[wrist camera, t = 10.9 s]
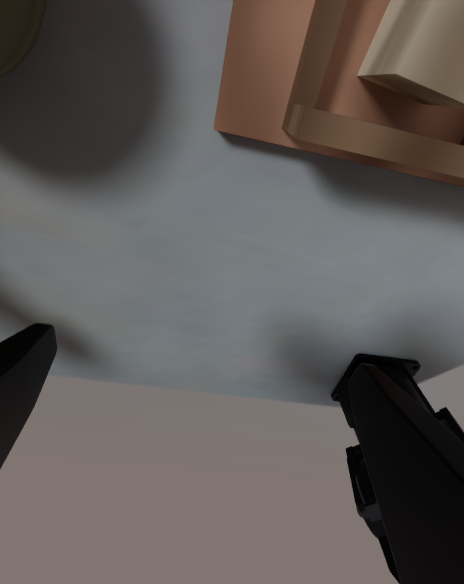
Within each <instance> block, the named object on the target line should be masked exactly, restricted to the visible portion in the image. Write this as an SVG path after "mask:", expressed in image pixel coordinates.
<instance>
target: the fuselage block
mask: <svg viewBox="0 0 464 584" xmlns="http://www.w3.org/2000/svg"><path fill="white" fill-rule="evenodd" d="M357 76H359V77H361V78H363V79H366V80H368V81H370V82H373V83H375V84H378V85H380V86H382V87H385V88H387V89H389V90H392V91H394V92H396V93H399V94H401V95H403V96H406V97H408V98H411V99H413V100H415V101H418V102H420V103H422V104H426V105H436V106H445V107H455V108H464V0H390V2H389V4H388V7H387V9H386V11H385V13H384V16H383V18H382V20H381V22H380V25H379V27H378V29H377V32H376V34H375V36H374V38H373V41H372V43H371V45H370V47H369V50H368V52H367V54H366V56H365V59H364V61H363V63H362V65H361V68H360V70H359V72H358V74H357Z"/></svg>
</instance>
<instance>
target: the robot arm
mask: <svg viewBox="0 0 464 584" xmlns="http://www.w3.org/2000/svg"><path fill="white" fill-rule="evenodd" d="M56 351H57V343H56V337H55V330H54V327H53V326H52V325H50V324H44V323H35V324H32V325H30V326H29V327H27V328H25V329H23V330H22V331H20V332H18V333H16V334H14V335H13V336H11V337H9V338H7V339H5V340H4V341H2V342H0V469H1V467H2V465H3V463H4V461H5V460H6V458H7V456H8V454H9V452H10V450H11V449H12V447H13V445H14V443H15V441H16V439H17V437H18V436H19V434H20V432H21V430H22V429H23V427H24V425H25V423H26V421H27V419H28V418H29V416H30V414H31V412H32V410H33V408H34V406H35V404H36V401H37V399H38V397H39V394H40V392H41V389H42V387H43V384H44V382H45V379H46V377H47V375H48V372H49V370H50V367H51V365H52V362H53V360H54V357H55V355H56ZM420 367H421V365H420V364H419V363H418V361H413V360H406V359H398V358H390V357H383V356H375V355H367V354H357V355H356V356H355V357H354V358H353V360H352V362H351V363H350V365H349V367H348V368H347V370H346V371H345V373H344V375H343V376H342V378H341V380H340V381H339V383H338V384H337V386H336V388H335V389H334V391H333V393H332V394H331V397H332V400H333V401H337V402H340V404H341V407H342V409H343V412H344V414H345V417H346V420H347V423H348V425H349V426H350V428H354V430H355V433H356V436H357V438H358V441H359V443H360V444H359V445H356V446H354V447H352V446H351V447H348V448H346V453H347V463H348V468H349V473H350V478H351V483H352V488H353V493H354V498H355V503H356V507H357V511H358V514H359V516H360V517H362V518H363V519H364V520H365V522H366V524H367V526H368V527H369V529H370V530H371V532H372V533H373V534H374V535H375V537H376V538H378V539H379V542H380V545H381V548H382V550H383V553H384V556H385V559H386V562H387V565H388V568H389V570H390V572H391V573H392V575H393V576H394V577H395V579H396V580H397V581H398V582H399V584H464V431H463V429H462V428H461V427H460V425H459V424H458V423H457V421H456V420H455V419H454V417H453V416H452V415H451V413H450V412H449V411H448V409H447V408H446V407H445V408H442V409H440V411H439V412H437V413H435V411H434V410H433V408H432V407H431V405H430V404H429V402H428V401H427V399H426V398H425V396H424V395H423V393H422V391H421V390H420V388H419V387H418V385H417V384H416V382H415V381H414V379H413V376H414V375H415V374H416V373H417V371H418V370H419V369H420Z"/></svg>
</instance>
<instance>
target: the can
mask: <svg viewBox="0 0 464 584" xmlns="http://www.w3.org/2000/svg"><path fill="white" fill-rule="evenodd" d="M45 6H46V0H0V77H1V76H3V75H5V74H6V73H8V72H10V71H11V70H12V69H14V68H15V67H16V66H17V65H18V64H19V63H20V62H21V61H22V60H23V59H24V58H25V56H26V55H27V54H28V52H29V51H30V49H31V48H32V46H33V44H34V42H35V40H36V38H37V36H38V33H39V30H40V27H41V24H42V20H43V16H44V12H45Z"/></svg>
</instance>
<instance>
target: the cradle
mask: <svg viewBox="0 0 464 584" xmlns="http://www.w3.org/2000/svg"><path fill="white" fill-rule="evenodd" d="M389 2H390V0H234V1H233V7H232V14H231V20H230V27H229V33H228V40H227V46H226V53H225V59H224V66H223V72H222V79H221V85H220V92H219V98H218V105H217V111H216V118H215V124H214V130H217V131H221V132H226V133H230V134H235V135H239V136H243V137H248V138H252V139H257V140H261V141H265V142H270V143H274V144H279V145H283V146H287V147H292V148H296V149H300V150H305V151H309V152H314V153H318V154H322V155H327V156H331V157H336V158H340V159H344V160H349V161H353V162H358V163H362V164H366V165H371V166H375V167H379V168H384V169H388V170H393V171H397V172H401V173H406V174H410V175H415V176H419V177H423V178H428V179H432V180H437V181H441V182H445V183H450V184H454V185H458V186H463V187H464V108H455V107H445V106H436V105H426V104H422V103H420V102H418V101H415V100H413V99H411V98H408V97H406V96H403V95H401V94H399V93H396V92H394V91H392V90H389V89H387V88H385V87H382V86H380V85H378V84H375V83H373V82H370V81H368V80H366V79H363V78H361V77H359V76H357V74H358V72H359V70H360V68H361V65H362V63H363V61H364V59H365V56H366V54H367V52H368V50H369V47H370V45H371V43H372V41H373V38H374V36H375V34H376V32H377V29H378V27H379V25H380V22H381V20H382V18H383V16H384V13H385V11H386V9H387V7H388V4H389Z"/></svg>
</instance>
